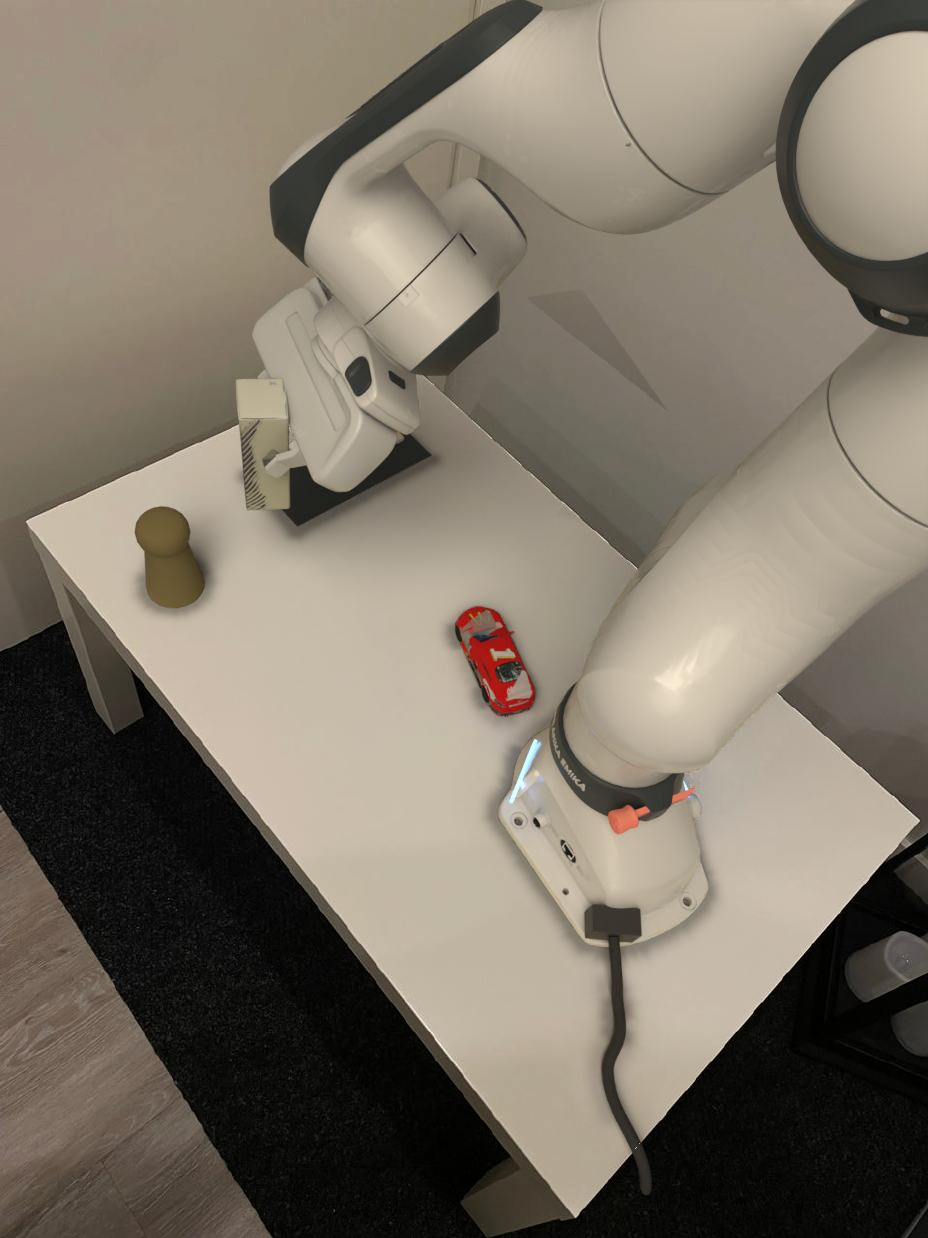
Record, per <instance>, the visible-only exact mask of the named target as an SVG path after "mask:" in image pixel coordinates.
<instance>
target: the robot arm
mask: <svg viewBox="0 0 928 1238" xmlns="http://www.w3.org/2000/svg"><path fill="white" fill-rule="evenodd" d="M543 7H544V6H541V5H539V4H537V3H534V2H532V1H530V0H509V1H506V2H503V3H502V4H499V5H496V6H494V7H493V8H491V9H489V10H487V11H485V12H484V13H482V14H481V15H479V16H478V17H476V18H474V19H473V20H472V21H470V22H469V23H468V24H466V25H465V26H464V27H462V28H461V29H460V30H458V31H457V32H455V33H454V34H453V35H451V36H450V37H449V38H447V39H446V40H444V41H442V42H440V43H438V44H437V46H434V47H433V48H432V49H430V50H429V51H428V52H427V53H425V54H424V55H423V56H422V57H421V58H419V59H418V60H417V61H415V62H414V63H413V64H411V65H410V66H409V67H408V68H406V69H405V71H403V72H401V73H400V74H399V75H398V76H396V77H395V78H394V79H392V80H391V81H390V82H389V83H387V84H386V85H385V86H384V87H382V88H381V89H379V91H377V92H376V93H375V94H373V95H372V96H371V97H369V98H368V100H366V101H364V102H362V104H361V105H360V107H358V108H357V109H356V110H354V111H353V112H352V113H350V114H349V115H348V116H347V117H345V118H344V119H342V120H339V121H336V122H333V123H331V124H329V125H326V126H324V127H322V128H320V129H319V130H316V131H315V132H313V133H312V134H310V135H309V136H307V137H306V138H305V139H304V140H302V141H301V142H300V143H299V144H298V145H297V146H296V147H294V148H293V149H292V150H291V152H289V154H288V155H286V157H285V158H284V160H283V161H282V162H281V164H280V166H279V168H278V169H277V171H276V173H275V175H274V178H273V180H272V182H271V184H270V185H269V189H268V190H269V193H268V194H269V212H270V219H271V226H272V231H273V236H274V238H275V239H276V240H277V241H279V242H280V244H282V245H283V247H285V248H286V249H287V250H288V251H289V252H290V253H291V254H292V255H293V256H294V257H295V258H296V259H298V261H300V262H301V263H302V265H304V267H306V268H309V270H311V271H312V272H313V273H314V275H315V276H316V277H315V276H314V277H312V278H310V279H309V280H308V281H307V282H306V283H305V284H304V285H303V286H302V287H298V288H296V289H294V290H292V291H290V292H289V293H287V294H286V295H285V296H284V297H283V298H281V299H279V301H277V302H276V303H275V304H274V305H273V306H271V308H269V309H268V310H267V311H266V312H265V313H264V314H262V316H260V317H259V318H258V319H257V321H256V322H255V324H254V327H253V330H252V332H251V339H252V340H253V342H254V345H255V348H256V349H257V352H258V355H259V357H260V359H261V361H262V364H263V366H264V369H263V370H262V371H261V372H260V373H259V374H258V376H257V378H282V379H283V380H284V384H285V388H286V395H287V404H288V418H289V428H290V430H291V433H292V434H293V437H294V439H293V440H292V441H291V442H289V451H287V452H284V453H279V452H278V451H276V450H274V449H272V450H271V451H270V452H269V453H268V454H267V456H265V457H264V458H263V459H262V463H263V465H264V468H265V471H266V473H267V474H268V475H270V476H272V477H274V478H279V477H281V476H282V475H283V474H284V473H286V472H287V471H288V470H289V469H290V468H295V467H300V466H305V465H307V467H308V470H309V472H310V475H311V477H312V479H313V480H314V481H315V482H316V483H318V484H320V485H322V486H324V487H326V488H328V489H330V490H332V491H335V492H347V491H350V490H351V489H353V488H354V487H356V486H357V485H358V484H359V483H360V482H362V481H363V480H364V479H365V478H366V477H367V476H368V475H369V474H371V473H372V472H373V471H374V470H375V469H376V468H377V467H378V466H379V465H380V464H381V463H382V462H383V461H384V460H385V459H386V457H387V456H388V455H389V454H390V453H391V451H392V450H393V448H394V446H395V443H396V440H397V431H398V432H400V433H402V434H404V435H408V434H411V433H413V432H414V431H415V430H417V428H419V426H420V424H421V419H422V416H421V409H420V402H419V394H418V383H417V382H418V381H417V376H418V375H419V376H425V377H446V376H447V377H449V376H450V375H451V373H453V372H454V370H455V369H457V368H458V367H459V365H460V364H462V363H463V362H464V361H465V360H466V359H467V358H468V357H469V356H470V355H471V354H473V353H474V352H475V351H476V350H477V349H479V348H480V347H481V346H482V345H483V344H485V343H486V342H487V341H488V340H490V339H491V338H492V337H493V336H494V335H496V334H497V333H498V332H499V330H500V321H501V294H500V292H501V291H500V290H498V289H499V287H501V285H502V284H503V283H504V282H505V281H506V279H507V278H508V277H509V276H510V275H511V274H512V272H513V271H514V270H515V269H516V268H517V267H518V265H519V264H520V262H521V261H522V260H523V259H524V258H525V257H526V255H527V253H528V251H529V244H528V240H527V239H528V238H527V235H526V233H525V231H524V229H523V227H522V226H521V224H520V223H519V221H518V219H517V218H516V216H515V215H514V213H513V212H512V211H511V210H510V208H509V206H507V205H506V203H505V202H504V201H503V199H502V198H501V197H500V196H499V195H498V194H497V193H496V192H495V191H493V190H492V188H491V186H490V185H488V184H487V183H486V182H485V181H483V180H482V179H481V178H476V177H474V176H472V175H469V176H466V177H464V178H463V179H460V180H459V181H457V182H456V183H455V184H453V185H452V186H450V187H449V188H448V189H446V190H445V191H444V192H443V193H440V195H439V196H437V197H436V198H434V199H433V200H431V199H430V197H428V195H427V193H426V192H425V191H424V190H423V189H422V188H421V186H420V185H419V184H418V183H417V182H416V181H415V179H414V177H413V176H412V174H411V173H410V172H409V171H410V170H408V167H407V166H406V164H405V162H406V161H408V160H409V159H411V158H412V157H414V156H416V155H417V154H419V153H420V152H422V151H424V150H426V149H427V148H428V147H430V146H431V145H433V144H435V143H438V142H449V143H454V144H457V145H460V146H463V147H464V148H466V149H469V150H471V151H473V152H475V153H476V154H478V155H480V156H481V157H483V158H484V159H486V160H488V161H490V162H491V163H492V164H494V165H495V166H496V167H498V168H499V169H501V170H503V171H504V172H505V173H507V174H508V175H509V176H510V177H512V178H513V179H515V180H516V181H517V182H518V183H520V185H522V186H523V187H524V188H525V189H526V190H528V191H530V192H531V193H532V194H533V195H534V196H535V197H536V198H538V199H539V200H540V201H541V202H542V203H544V204H545V205H546V206H547V207H549V209H551V210H553V211H554V212H555V213H557V214H558V215H560V216H562V217H564V218H566V219H568V220H569V221H571V222H574V223H576V224H577V225H580V226H583V227H585V228H589V229H592V230H596V231H599V232H602V233H607V234H614V235H624V236H626V235H628V236H629V235H630V236H631V235H639V234H640V235H641V234H646V233H650V232H653V231H657V230H659V229H662V228H665V227H667V226H670V225H672V224H674V223H677V222H679V221H680V220H683V219H685V218H687V217H689V216H690V215H692V214H695V213H696V212H698V211H700V210H702V209H703V208H705V207H706V206H708V205H710V204H711V203H713V202H714V201H717V200H718V199H720V198H721V197H723V196H724V195H726V194H727V193H729V192H730V191H732V190H733V189H735V188H736V187H738V186H739V185H741V184H743V183H744V182H745V181H747V180H749V179H750V178H752V177H754V176H755V175H756V174H758V173H759V172H761V171H762V170H764V169H765V168H767V167H769V166H770V165H772V164H773V163H775V171H776V177H777V183H778V187H779V192H780V195H781V200H782V202H783V205H784V208H785V211H786V213H787V215H788V218H789V220H790V222H791V223H792V226H793V228H794V230H795V231H796V233H797V235H798V237H799V238H800V240H801V241H802V243H803V244H804V245H805V247H806V248H807V250H808V251H809V253H810V254H811V256H813V258H814V259H815V260H816V261H817V263H819V265H820V266H821V267H822V268H823V269H824V270H825V272H826V273H828V274H829V276H831V277H832V278H833V279H834V280H836V282H838V283H839V284H841V285H842V286H843V287H844V288H846V290H847V292H848V293H849V295H850V298H851V299H852V301H853V303H854V305H855V307H856V309H857V310H858V312H859V314H860V315H861V316H862V317H863V318H864V319H865V320H866V321H867V322H868V323H870V324H872V325H874V326H877V327H876V328H875V329H874V330H873V332H871V334H870V335H869V336H868V337H867V338H866V339H865V340H863V341H862V343H860V345H859V346H857V347H856V348H855V349H854V350H853V351H852V352H851V353H850V354H849V355H848V356H847V357H846V358H845V359H844V360H843V361H841V362H840V364H838V365H837V366H836V367H835V368H834V369H833V371H831V373H829V374H828V375H827V376H826V377H825V378H824V379H823V380H822V382H821V383H820V384H819V385H817V386H816V388H814V389H813V391H811V392H810V394H809V395H807V396H806V397H805V399H803V400H802V402H801V403H799V404H798V406H797V407H796V408H795V409H793V410H792V412H791V413H790V414H788V416H786V417H785V419H783V421H781V423H779V425H777V427H775V428H774V430H773V431H771V433H769V434H768V435H767V437H765V438H764V439H763V441H762V442H760V443H759V445H757V446H756V447H755V448H754V449H753V450H752V451H751V452H750V453H749V454H748V455H747V456H746V457H745V458H744V460H743V461H742V462H738V463H735V464H734V463H733V464H731V465H728V466H726V467H724V468H723V469H721V470H719V471H718V472H717V473H715V474H714V475H712V477H711V478H709V479H708V480H707V481H705V482H704V483H703V484H702V485H701V486H700V487H698V488H697V489H696V490H695V491H694V492H693V493H692V494H691V495H690V496H689V497H688V498H687V499H686V500H685V501H684V502H683V503H682V504H681V505H680V506H679V507H678V508H677V509H676V511H675V512H674V514H673V515H672V517H671V518H670V520H669V521H668V523H667V524H666V526H665V528H664V529H663V530H662V532H661V534H659V536H658V538H657V539H656V541H655V542H654V544H653V545H652V547H651V548H650V550H649V551H648V553H647V554H646V556H645V557H644V558H643V561H642V562H641V563H640V565H639V567H638V568H637V569H636V571H635V573H634V574H633V576H632V577H631V579H630V580H629V582H628V583H627V584H626V586H625V588H624V589H623V591H622V592H621V593H620V595H619V596H618V598H617V599H616V600H615V603H614V604H613V606H612V607H611V609H610V610H609V612H608V613H607V614H606V616H605V618H604V619H603V621H602V622H601V624H600V625H599V628H598V630H597V632H596V634H595V637H594V639H593V642H592V644H591V646H590V649H589V651H588V654H587V657H586V659H585V663H584V665H583V668H582V671H581V673H580V676H579V678H578V679H577V681H575V683H574V684H572V685H571V687H570V688H569V689H568V690H567V691H566V693H565V695H564V696H563V697H562V699H561V700H560V702H559V704H558V706H557V708H556V709H555V712H554V713H553V715H552V717H551V721H550V725H549V726H548V727H546V728H544V729H542V730H541V731H539V732H537V733H536V734H535V735H533V736H532V737H531V738H530V739H529V740H528V741H527V743H526V744H525V745H524V747H523V748H522V749H521V751H520V753H519V755H518V757H517V759H516V762H515V767H514V769H513V776H512V782H511V786H510V789H509V791H508V792H507V793H506V794H505V796H504V797H503V799H502V801H501V802H500V804H499V806H498V808H497V809H498V810H497V818H498V819H499V822H500V823H501V824H502V826H503V827H504V829H505V830H506V832H507V834H509V836H510V838H511V839H512V840H513V841H514V843H515V845H516V846H517V848H518V849H519V850H520V852H521V854H522V855H523V856H524V858H525V859H526V861H527V863H528V864H529V865H530V866H531V868H532V870H533V871H534V873H535V874H536V875H537V877H538V878H539V879H540V881H541V882H542V884H543V885H544V887H545V888H546V890H547V891H548V893H549V895H550V896H551V897H552V899H553V900H554V901H555V903H556V904H557V906H558V907H559V909H560V910H561V912H562V914H563V915H564V916H565V917H566V919H567V920H568V922H569V923H570V925H571V926H572V927H573V929H574V930H575V932H576V933H577V935H578V936H579V938H581V940H582V941H583V942H584V943H585V944H587V945H591V946H593V947H594V946H595V947H599V948H608V952H609V953H608V955H609V964H610V965H609V966H610V977H611V979H610V981H611V1005H612V1013H613V1021H614V1023H613V1024H614V1029H613V1036H612V1039H611V1041H610V1043H609V1045H608V1047H607V1049H606V1052H605V1053H604V1056H603V1059H602V1064H601V1076H602V1085H603V1090H604V1094H605V1097H606V1101H607V1104H608V1107H609V1108H610V1110H611V1113H612V1115H613V1117H614V1120H615V1121H616V1123H617V1125H618V1127H619V1129H620V1131H621V1133H622V1135H623V1137H624V1139H625V1141H626V1142H627V1145H628V1147H629V1148H630V1151H631V1153H632V1155H633V1159H634V1161H635V1164H636V1167H637V1170H638V1178H639V1179H638V1180H639V1190H640V1191H641V1193H642V1194H643V1195H644V1196H649V1195H650V1194H651V1193H652V1188H653V1187H652V1186H653V1179H652V1171H651V1167H650V1162H649V1159H648V1156H647V1154H646V1151H645V1149H644V1146H643V1144H642V1142H641V1139H640V1138H639V1135H638V1134H637V1132H636V1130H635V1128H634V1126H633V1124H632V1122H631V1121H630V1119H629V1117H628V1115H627V1113H626V1111H625V1109H624V1106H623V1104H622V1102H621V1100H620V1096H619V1093H618V1090H617V1086H616V1081H615V1064H616V1062H617V1059H618V1058H619V1056H620V1053H621V1051H622V1049H623V1047H624V1043H625V1039H626V1035H627V1034H626V1032H627V1019H626V1018H627V1017H626V1011H625V1005H624V1004H625V1003H624V981H623V980H624V979H623V964H622V953H621V947H627V946H632V945H636V944H639V943H643V942H645V941H649V940H650V939H654V938H655V937H658V936H660V935H662V934H664V933H666V932H668V931H670V930H672V929H673V928H675V927H677V926H678V925H680V924H682V922H684V921H686V919H688V918H689V917H690V916H691V915H693V913H694V912H695V911H696V910H697V909H698V907H700V905H701V904H702V902H703V901H704V900H705V897H706V896H707V893H708V892H709V882H708V879H707V876H706V873H705V870H704V866H703V863H702V861H701V848H700V844H699V839H698V834H697V830H696V827H695V826H696V825H695V824H694V823H695V822H694V820H695V819H699V817H701V816H702V814H703V809H702V803H701V801H700V799H699V797H698V796H697V795H696V794H694V792H695V791H696V790H697V788H696V787H691V788H688V786H687V784H686V782H685V779H684V778H685V773H690V772H695V771H698V770H701V769H703V768H705V767H706V766H708V765H709V764H710V763H711V762H712V761H713V760H714V759H715V758H716V756H717V755H718V754H720V752H721V751H722V750H723V749H724V748H725V746H726V745H727V744H729V742H730V741H731V740H732V739H733V737H734V736H735V735H736V734H737V733H738V732H739V731H740V730H741V728H743V727H744V725H746V724H747V722H748V721H749V720H751V718H752V717H753V716H754V715H756V714H757V712H758V711H759V710H760V709H761V708H762V707H763V706H764V705H766V704H767V703H768V702H769V701H770V700H771V699H773V698H774V697H775V696H776V695H777V694H778V693H779V692H780V691H781V690H784V688H785V687H786V686H787V685H789V684H790V683H791V682H792V681H793V680H794V679H795V678H797V677H798V676H799V675H801V673H802V672H804V671H805V670H806V669H807V668H808V667H810V666H811V664H813V663H814V662H815V661H816V660H817V659H818V658H819V657H820V656H821V655H822V654H824V653H825V652H826V651H827V650H828V649H829V648H830V647H831V646H832V645H833V644H834V643H836V641H838V639H840V638H841V637H842V635H844V633H846V632H847V631H848V630H849V629H850V628H851V627H852V626H853V625H854V624H855V623H856V622H858V621H859V620H860V619H861V618H862V617H864V616H865V614H867V613H868V612H869V611H870V610H871V609H873V608H874V607H875V606H877V605H878V604H879V603H880V602H882V601H883V600H884V599H886V598H887V597H889V596H890V595H892V594H893V593H894V592H896V591H897V590H899V589H901V588H902V587H904V586H905V585H907V584H909V583H910V582H911V581H913V580H915V579H917V578H918V577H919V576H921V575H923V574H924V573H926V572H927V571H928V0H590V1H588V2H586V3H582V4H580V5H576V6H571V7H567V8H556V9H553V8H551V9H546V8H543ZM882 310H884V311H886V312H888V313H889V314H888V315H887V316H886V317H885V316H884V315H882V313H881V311H882ZM515 820H516V821H517V820H518V821H519V822H520V825H517V824H516V823H515ZM564 892H565V893H564ZM684 900H687V902H688V905H686V904H685V903H684ZM639 1143H640V1144H639ZM636 1147H637V1148H636ZM635 1148H636V1149H635Z"/></svg>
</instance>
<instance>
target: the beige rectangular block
mask: <svg viewBox="0 0 928 1238" xmlns="http://www.w3.org/2000/svg"><path fill="white" fill-rule="evenodd" d="M402 441H404V436H403V435H402V434H401V433H400V432H398V431H397V440H396V444H398V443H400V442H402Z"/></svg>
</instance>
